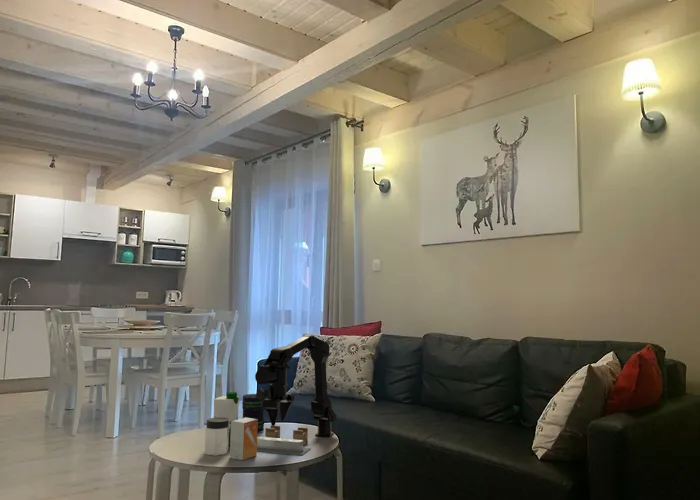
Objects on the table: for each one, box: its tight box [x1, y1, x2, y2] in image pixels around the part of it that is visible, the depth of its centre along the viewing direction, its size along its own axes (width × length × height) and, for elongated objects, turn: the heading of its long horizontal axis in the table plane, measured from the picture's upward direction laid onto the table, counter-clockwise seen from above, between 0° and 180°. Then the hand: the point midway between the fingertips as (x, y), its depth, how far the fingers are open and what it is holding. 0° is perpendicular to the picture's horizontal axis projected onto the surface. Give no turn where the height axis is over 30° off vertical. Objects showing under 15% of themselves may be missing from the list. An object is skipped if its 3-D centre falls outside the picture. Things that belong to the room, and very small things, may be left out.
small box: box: [229, 417, 258, 461], centre depth 193 cm, size 8×6×13 cm
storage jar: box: [241, 393, 265, 433], centre depth 234 cm, size 10×10×15 cm
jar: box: [204, 417, 229, 457], centre depth 197 cm, size 9×8×12 cm
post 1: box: [264, 424, 281, 438], centre depth 215 cm, size 6×4×6 cm
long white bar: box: [257, 436, 304, 452], centre depth 202 cm, size 4×20×4 cm, turn 75°
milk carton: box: [213, 391, 240, 448], centre depth 210 cm, size 9×9×20 cm
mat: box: [257, 447, 312, 456], centre depth 201 cm, size 9×24×1 cm, turn 75°
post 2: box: [292, 426, 309, 445], centre depth 212 cm, size 6×4×6 cm
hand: (278, 423), depth 202 cm, fingers open, 9 cm apart
